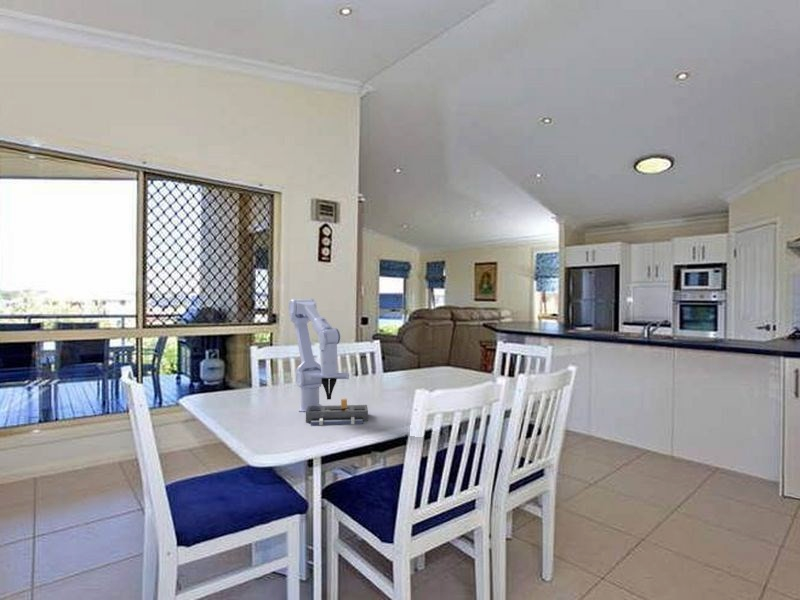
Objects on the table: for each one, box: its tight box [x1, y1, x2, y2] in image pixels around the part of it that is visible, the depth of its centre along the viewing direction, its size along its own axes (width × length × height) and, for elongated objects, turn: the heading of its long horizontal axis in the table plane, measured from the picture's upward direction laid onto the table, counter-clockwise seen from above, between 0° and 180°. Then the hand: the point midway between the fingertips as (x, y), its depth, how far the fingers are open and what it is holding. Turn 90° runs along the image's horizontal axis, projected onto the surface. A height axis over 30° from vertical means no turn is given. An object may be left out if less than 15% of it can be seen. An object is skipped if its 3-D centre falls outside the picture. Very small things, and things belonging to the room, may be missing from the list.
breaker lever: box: [340, 398, 348, 409], centre depth 173 cm, size 2×2×3 cm
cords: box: [310, 417, 364, 426], centre depth 167 cm, size 4×18×2 cm, turn 96°
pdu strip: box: [305, 404, 369, 423], centre depth 173 cm, size 9×22×4 cm, turn 96°
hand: (329, 398), depth 173 cm, fingers closed
